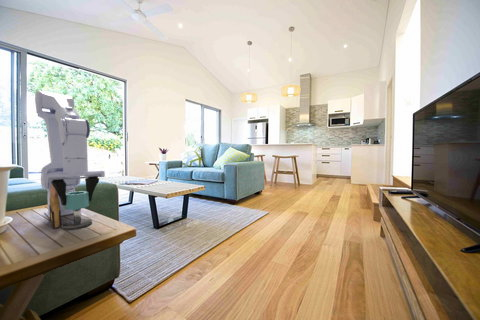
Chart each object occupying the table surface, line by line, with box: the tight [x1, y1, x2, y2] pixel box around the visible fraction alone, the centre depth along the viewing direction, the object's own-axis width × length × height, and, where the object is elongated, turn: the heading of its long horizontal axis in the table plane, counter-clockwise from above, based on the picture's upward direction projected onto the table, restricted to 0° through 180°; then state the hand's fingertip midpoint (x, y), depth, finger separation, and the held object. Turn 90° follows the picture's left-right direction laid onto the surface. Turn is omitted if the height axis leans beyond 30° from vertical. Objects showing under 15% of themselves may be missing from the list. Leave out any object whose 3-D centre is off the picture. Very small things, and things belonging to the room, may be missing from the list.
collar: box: [65, 190, 90, 210], centre depth 60 cm, size 5×5×4 cm
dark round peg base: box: [61, 208, 93, 231], centre depth 60 cm, size 7×7×6 cm
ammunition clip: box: [49, 185, 62, 230], centre depth 61 cm, size 11×2×12 cm, turn 48°
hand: (76, 202), depth 60 cm, fingers closed on collar, 5 cm apart
